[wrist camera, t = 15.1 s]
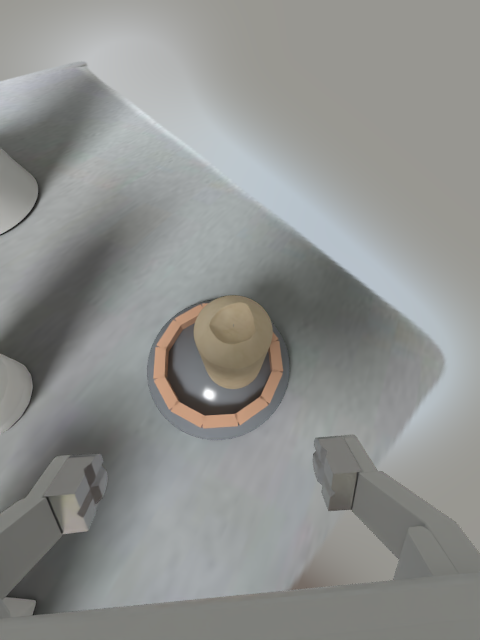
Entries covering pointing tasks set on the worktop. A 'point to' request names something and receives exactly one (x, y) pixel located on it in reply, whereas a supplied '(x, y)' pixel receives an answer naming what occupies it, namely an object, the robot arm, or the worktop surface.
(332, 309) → the worktop surface
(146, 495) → the worktop surface
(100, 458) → the robot arm
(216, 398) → the tray
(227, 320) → the candle
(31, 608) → the milk carton
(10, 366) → the bottle
